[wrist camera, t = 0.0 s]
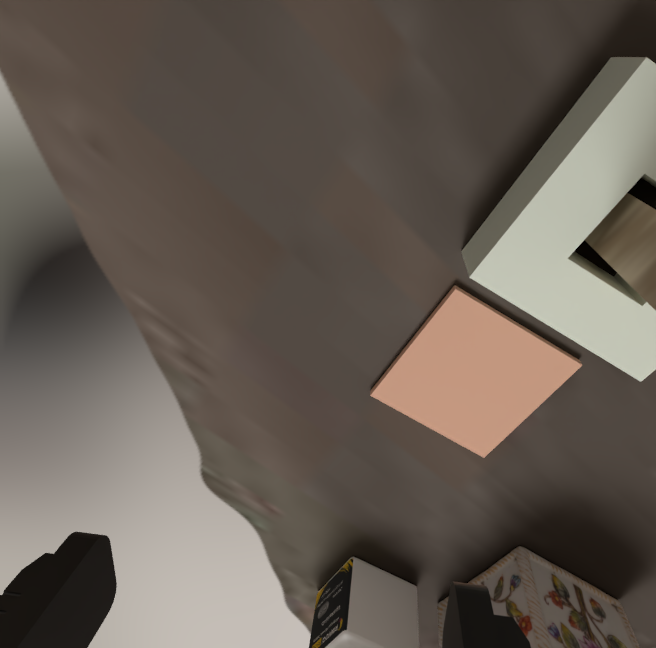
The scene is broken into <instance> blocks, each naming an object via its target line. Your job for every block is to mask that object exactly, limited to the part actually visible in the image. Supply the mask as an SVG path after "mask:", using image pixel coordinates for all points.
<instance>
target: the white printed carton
mask: <svg viewBox="0 0 656 648" xmlns="http://www.w3.org/2000/svg"><path fill="white" fill-rule="evenodd" d="M309 648H419V629H418V599H417V587H416V586H415V585H413V584H411V583H409V582H407V581H405V580H403V579H401V578H398V577H396V576H394V575H392V574H390V573H388V572H386V571H384V570H381V569H379V568H377V567H375V566H373V565H371V564H369V563H367V562H365V561H362V560H360V559H358V558H356V557H351V558H350V559H349V560H348V561H347V562H346V563H345V564H344V565H343V566H342V567H341V568H340V570H339V571H338V572H337V573H336V574H335V575H334V576H333V577H332V578H331V579H330V580H329V581H328V582H327V583H326V584H325V585H324V586H323V587H322V588H321V589H320V590H319V592H318V594H317V599H316V605H315V612H314V619H313V625H312V632H311V638H310V645H309Z"/></svg>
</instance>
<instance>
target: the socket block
mask: <svg viewBox="0 0 656 648" xmlns="http://www.w3.org/2000/svg"><path fill="white" fill-rule="evenodd" d="M640 178H642V179H644V180H645V181H647V182H648V183H650V184H651V185H652V186H654V187H655V188H656V64H655V63H654V62H653V61H651V60H650V59H648V58H647V57H611V58H610V59H609V61H608V62H607V63H606V65H605V66H604V67H603V68H602V70H601V71H600V72H599V74H598V75H597V76H596V77H595V79H594V80H593V81H592V83H591V84H590V85H589V87H588V88H587V89H586V90H585V92H584V93H583V94H582V96H581V97H580V98H579V100H578V101H577V102H576V103H575V105H574V106H573V107H572V109H571V110H570V111H569V112H568V114H567V115H566V116H565V118H564V119H563V120H562V122H561V123H560V124H559V125H558V127H557V128H556V129H555V131H554V132H553V133H552V135H551V136H550V137H549V138H548V140H547V141H546V142H545V144H544V145H543V146H542V147H541V149H540V150H539V151H538V153H537V154H536V155H535V157H534V158H533V159H532V160H531V162H530V163H529V164H528V166H527V167H526V168H525V170H524V171H523V172H522V173H521V175H520V176H519V177H518V179H517V180H516V181H515V182H514V184H513V185H512V186H511V188H510V189H509V190H508V192H507V193H506V194H505V195H504V197H503V198H502V199H501V201H500V202H499V203H498V205H497V206H496V207H495V208H494V210H493V211H492V212H491V214H490V215H489V216H488V217H487V219H486V220H485V221H484V223H483V224H482V225H481V227H480V228H479V229H478V230H477V232H476V233H475V234H474V236H473V237H472V238H471V240H470V241H469V242H468V243H467V245H466V246H465V247H464V249H463V250H462V251H461V253H462V256H463V259H464V262H465V265H466V268H467V271H468V275H469V277H470V278H471V279H473V280H475V281H476V282H478V283H480V284H481V285H483V286H484V287H486V288H488V289H489V290H491V291H493V292H494V293H496V294H498V295H499V296H501V297H503V298H504V299H506V300H507V301H509V302H511V303H512V304H514V305H516V306H517V307H519V308H521V309H522V310H524V311H526V312H527V313H529V314H530V315H532V316H534V317H535V318H537V319H539V320H540V321H542V322H544V323H545V324H547V325H549V326H550V327H552V328H553V329H555V330H557V331H558V332H560V333H562V334H563V335H565V336H567V337H568V338H570V339H572V340H573V341H575V342H576V343H578V344H580V345H581V346H583V347H585V348H586V349H588V350H590V351H591V352H593V353H595V354H596V355H598V356H599V357H601V358H603V359H604V360H606V361H608V362H609V363H611V364H613V365H614V366H616V367H618V368H619V369H621V370H622V371H624V372H626V373H627V374H629V375H631V376H632V377H634V378H636V379H637V380H639V381H643V380H644V379H645V378H646V377H647V376H648V375H650V374H651V373H652V372H653V371H654V370H655V369H656V311H655V310H654V309H653V308H652V307H651V306H650V305H649V304H648V303H647V302H646V301H645V300H644V299H643V298H642V297H641V296H640V295H639V294H638V293H637V292H636V291H635V290H634V289H633V288H632V287H631V286H630V285H629V284H628V283H627V282H626V281H625V280H624V279H623V278H622V277H621V276H620V275H619V274H618V273H617V274H616V275H615V276H614V277H613V276H612V275H610V274H609V273H607V272H606V271H604V270H603V269H601V268H599V267H598V266H596V265H595V264H593V263H592V262H590V261H589V260H587V259H585V258H584V257H582V256H581V255H579V254H578V253H576V252H574V251H575V250H576V249H577V248H578V246H579V245H580V244H581V243H582V242H583V241H584V240H585V239H586V238H587V236H588V235H589V234H590V233H591V232H592V231H593V230H594V229H595V228H596V227H597V225H598V224H599V223H600V222H601V221H602V220H603V219H604V218H605V217H606V216H607V214H608V213H609V212H610V211H611V210H612V209H613V208H614V207H615V206H616V205H617V203H618V202H619V201H620V200H621V199H622V198H623V197H624V196H625V195H626V193H627V192H628V191H629V190H630V189H631V188H632V187H633V186H634V185H635V184H636V182H637V181H638V180H639V179H640Z"/></svg>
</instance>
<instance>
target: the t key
mask: <svg viewBox="0 0 656 648" xmlns="http://www.w3.org/2000/svg"><path fill="white" fill-rule="evenodd" d="M585 241H586V242H587V243H588V244H589V245H590V246H591V247H592V248H593V249H594V250H595V251H596V252H597V253H598V254H599V255H600V256H601V257H602V258H603V259H604V260H605V261H606V262H607V263H608V264H609V265H610V266H611V267H612V268H613V269H614V270H615V271H616V272H617V273H618V274H619V275H620V276H621V277H622V278H623V279H624V280H625V281H626V282H627V283H628V284H629V285H630V286H631V287H632V288H633V289H634V290H635V291H636V292H637V293H638V294H639V295H640V296H641V297H642V298H643V299H644V300H645V301H646V302H647V303H648V304H649V305H650V306H651V307H652V308H653V309H654V310H655V311H656V210H655V209H654V208H652V207H650V206H649V205H647V204H645V203H644V202H642V201H640V200H639V199H637V198H635V197H634V196H632V195H630V194H629V193H626V195H625V196H624V197H623V198H622V199H621V200H620V201H619V202H618V203H617V205H616V206H615V207H614V208H613V209H612V210H611V211H610V212H609V213H608V214H607V216H606V217H605V218H604V219H603V220H602V221H601V222H600V223H599V224H598V225H597V227H596V228H595V229H594V230H593V231H592V232H591V233H590V234H589V235H588V236H587V238H586V239H585Z"/></svg>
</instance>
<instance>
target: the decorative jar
mask: <svg viewBox="0 0 656 648" xmlns="http://www.w3.org/2000/svg"><path fill="white" fill-rule="evenodd" d="M468 584H476V585H484V586H487V588H488V590H489V594H490V598H491V603H492V608H493V612H494V615H501V616H508V617H513V618H514V619H515V621H516V622H517V624H518V625H519V627H520V628H521V630H522V631H523V633H524V634H525V636H526V637H527V639H528V640H529V642H530V646H531V648H639V645H638V643H637V640H636V638H635V635H634V633H633V630H632V628H631V626H630V623H629V621H628V619H627V616H626V614H625V612H624V610H623V608H622V606H621V604H620V602H619V601H618V600H617V599H615V598H613V597H611V596H609V595H608V594H605V593H604V592H602V591H601V590H599V589H597V588H596V587H594V586H592V585H591V584H589V583H587V582H585V581H583V580H582V579H580V578H578V577H576V576H575V575H573V574H571V573H569V572H568V571H566V570H564V569H562V568H560V567H558V566H556V565H554V564H552V563H550V562H549V561H547V560H545V559H544V558H542V557H540V556H538V555H536V554H535V553H533V552H531V551H529V550H528V549H526V548H524V547H521V546H519V547H517V548H515V549H514V550H512V551H511V552H510V553H509V554H507V555H506V556H504V557H503V558H502V559H500V560H499V561H498V562H496V563H495V564H494V565H492V566H491V567H490V568H489V569H487V570H486V571H485V572H483V573H481V574H479V575H478V576H477V577H475V578H474V579H472V580H471V581H469V582H468ZM448 597H449V596H448ZM448 597H447V598H445V599H444V600H443V601H441V602H439V604H438V607H437V609H438V627H439V646H440V648H442V638H443V627H444V621H445V615H446V609H447V603H448Z"/></svg>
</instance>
